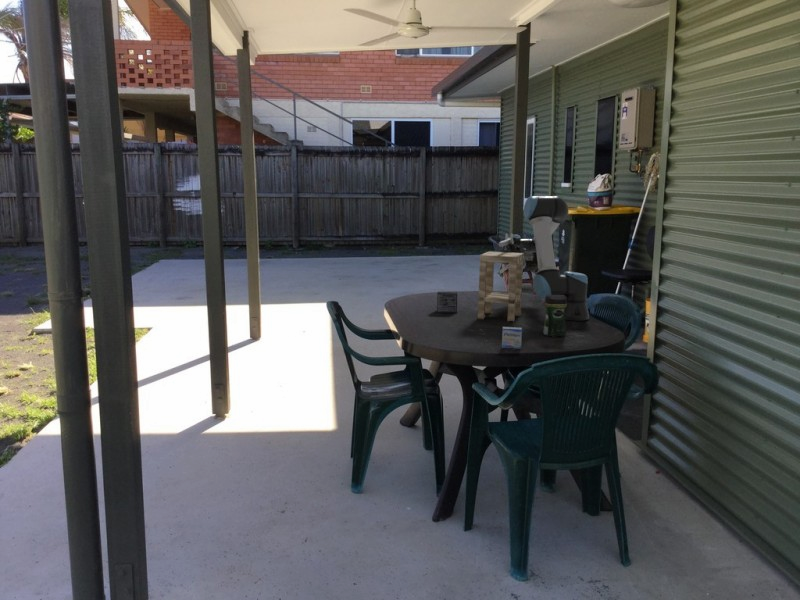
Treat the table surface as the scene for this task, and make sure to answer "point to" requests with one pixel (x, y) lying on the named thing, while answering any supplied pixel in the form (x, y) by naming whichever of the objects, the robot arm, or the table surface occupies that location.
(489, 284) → the shelf stand
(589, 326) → the table surface
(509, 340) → the medicine box
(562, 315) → the coffee jar
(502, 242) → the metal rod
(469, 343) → the table surface
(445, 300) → the small box
